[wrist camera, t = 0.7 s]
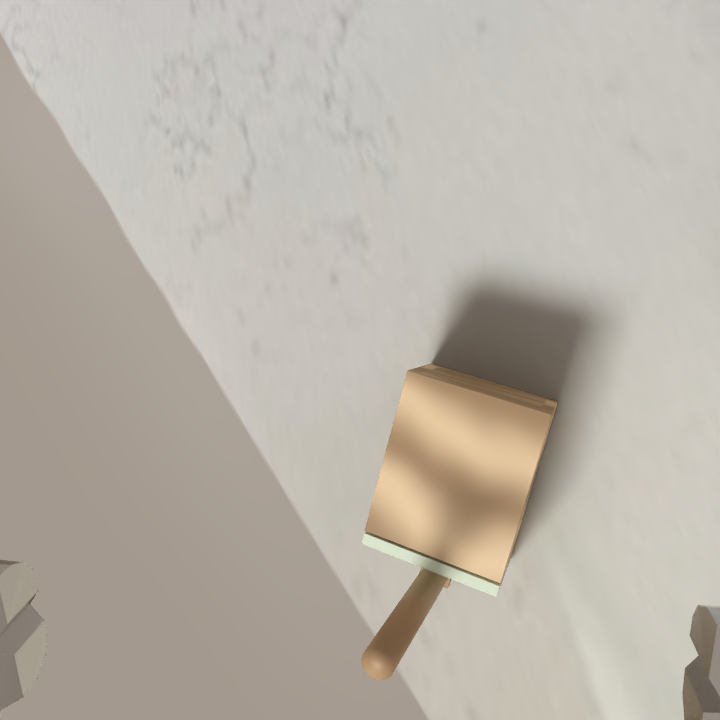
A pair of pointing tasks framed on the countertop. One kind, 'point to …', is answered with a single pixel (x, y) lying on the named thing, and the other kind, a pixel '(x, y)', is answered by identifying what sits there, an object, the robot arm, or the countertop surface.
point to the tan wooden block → (460, 468)
